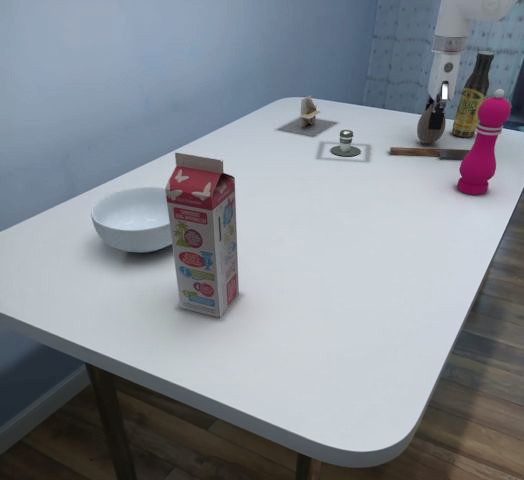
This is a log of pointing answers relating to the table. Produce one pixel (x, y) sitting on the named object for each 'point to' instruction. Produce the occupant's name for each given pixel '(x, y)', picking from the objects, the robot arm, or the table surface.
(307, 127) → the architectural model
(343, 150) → the grey round knobbed disc
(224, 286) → the juice carton
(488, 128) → the pepper mill
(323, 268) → the table surface
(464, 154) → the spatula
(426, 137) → the vase
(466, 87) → the sauce bottle
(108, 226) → the cereal bowl
